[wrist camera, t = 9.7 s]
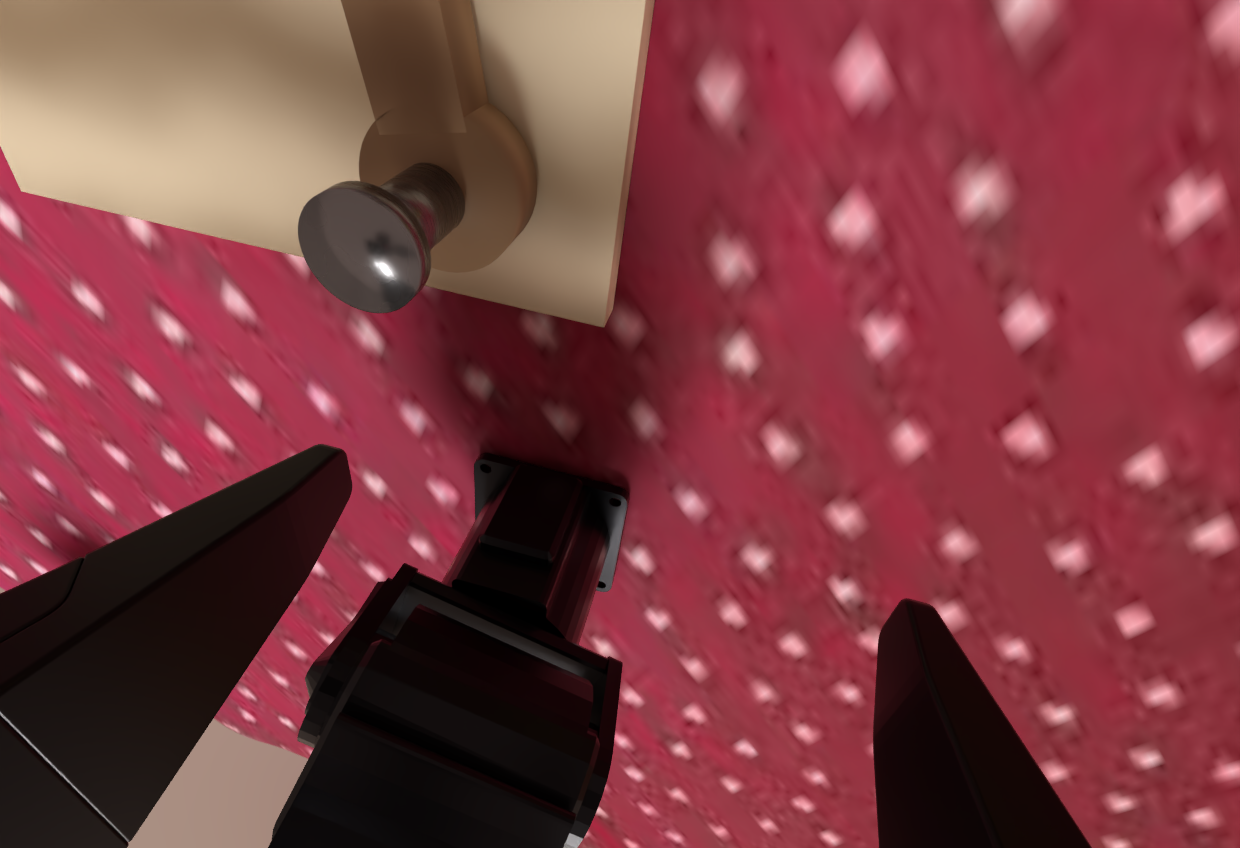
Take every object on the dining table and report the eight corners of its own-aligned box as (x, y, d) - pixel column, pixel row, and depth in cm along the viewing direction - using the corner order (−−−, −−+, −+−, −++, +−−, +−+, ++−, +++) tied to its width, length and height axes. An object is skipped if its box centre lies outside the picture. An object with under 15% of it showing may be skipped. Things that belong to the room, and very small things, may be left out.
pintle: (483, 259, 18) (423, 324, 15) (387, 238, 18) (310, 297, 15) (482, 153, 16) (414, 205, 13) (375, 131, 16) (285, 177, 13)
